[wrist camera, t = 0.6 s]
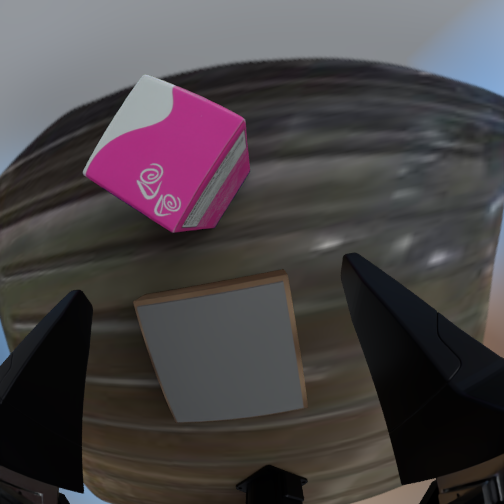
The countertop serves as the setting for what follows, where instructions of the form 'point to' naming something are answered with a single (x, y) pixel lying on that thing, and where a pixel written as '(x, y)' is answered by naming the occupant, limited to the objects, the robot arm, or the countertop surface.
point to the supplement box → (172, 156)
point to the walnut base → (225, 348)
